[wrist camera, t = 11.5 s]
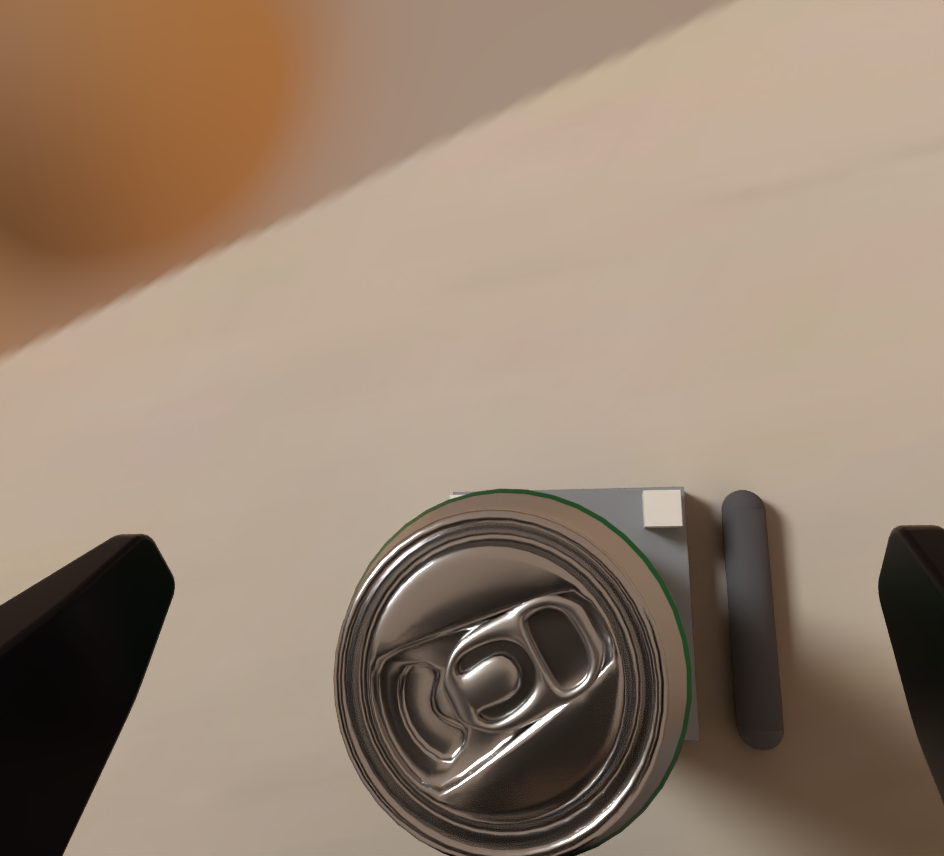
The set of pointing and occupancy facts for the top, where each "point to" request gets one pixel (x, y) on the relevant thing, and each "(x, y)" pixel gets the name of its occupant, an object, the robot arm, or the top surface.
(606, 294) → the top surface
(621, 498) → the switch plate
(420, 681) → the soda can
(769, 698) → the dark grey rod
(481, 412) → the top surface
